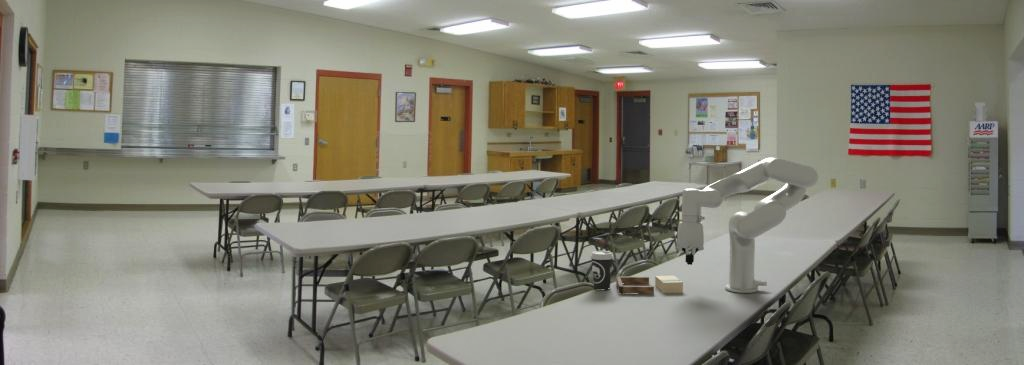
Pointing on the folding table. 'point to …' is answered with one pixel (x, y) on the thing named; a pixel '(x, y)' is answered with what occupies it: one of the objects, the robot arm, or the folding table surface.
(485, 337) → the folding table surface
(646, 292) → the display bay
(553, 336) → the folding table surface
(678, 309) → the folding table surface
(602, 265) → the coffee cup
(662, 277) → the carton
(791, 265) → the folding table surface
